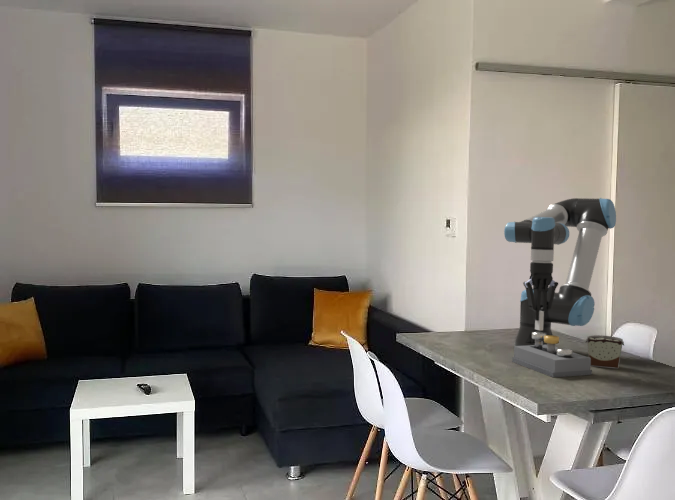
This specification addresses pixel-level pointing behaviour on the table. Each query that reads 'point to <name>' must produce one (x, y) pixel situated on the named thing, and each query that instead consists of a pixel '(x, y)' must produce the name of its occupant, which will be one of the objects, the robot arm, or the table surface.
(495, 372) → the table surface
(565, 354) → the knob
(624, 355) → the table surface
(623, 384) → the table surface
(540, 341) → the knob
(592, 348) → the food container
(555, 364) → the mount
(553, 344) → the yellow round knob
